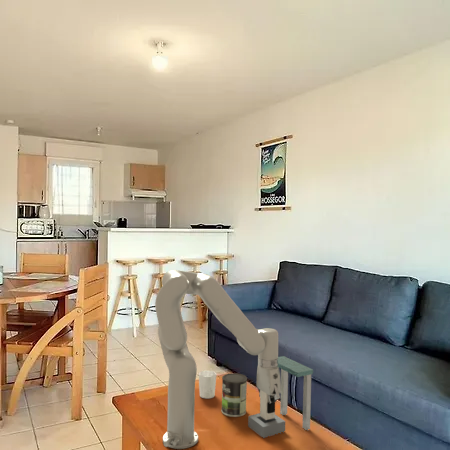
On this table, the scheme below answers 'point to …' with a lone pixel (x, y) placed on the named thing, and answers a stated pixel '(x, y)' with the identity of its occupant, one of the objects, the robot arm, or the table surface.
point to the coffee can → (234, 394)
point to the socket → (266, 425)
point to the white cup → (207, 383)
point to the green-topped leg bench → (298, 371)
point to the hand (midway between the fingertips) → (267, 409)
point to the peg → (265, 406)
